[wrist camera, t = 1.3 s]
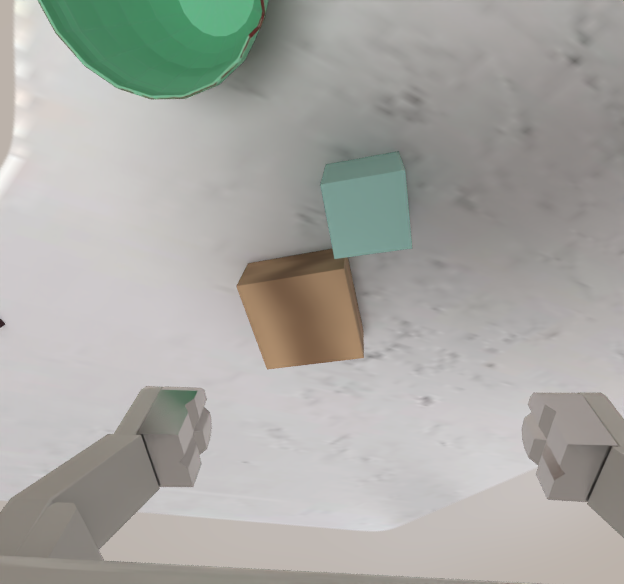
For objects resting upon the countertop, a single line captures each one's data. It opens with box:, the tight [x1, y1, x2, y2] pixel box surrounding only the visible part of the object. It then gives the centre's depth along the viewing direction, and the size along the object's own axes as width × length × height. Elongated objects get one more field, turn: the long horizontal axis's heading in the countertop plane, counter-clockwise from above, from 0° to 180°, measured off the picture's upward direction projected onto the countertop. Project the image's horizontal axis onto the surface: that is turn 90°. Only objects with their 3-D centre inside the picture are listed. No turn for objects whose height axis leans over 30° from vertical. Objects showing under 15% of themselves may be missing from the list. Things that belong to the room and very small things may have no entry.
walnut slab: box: [237, 249, 364, 369], centre depth 34 cm, size 8×8×4 cm
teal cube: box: [320, 151, 412, 259], centre depth 28 cm, size 5×5×5 cm
